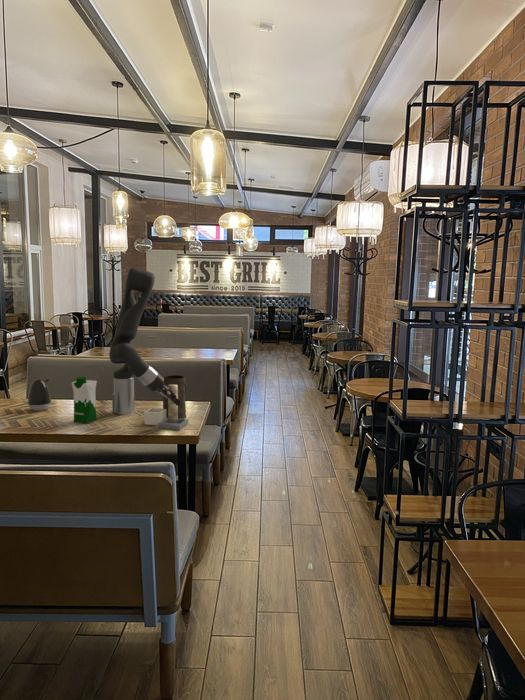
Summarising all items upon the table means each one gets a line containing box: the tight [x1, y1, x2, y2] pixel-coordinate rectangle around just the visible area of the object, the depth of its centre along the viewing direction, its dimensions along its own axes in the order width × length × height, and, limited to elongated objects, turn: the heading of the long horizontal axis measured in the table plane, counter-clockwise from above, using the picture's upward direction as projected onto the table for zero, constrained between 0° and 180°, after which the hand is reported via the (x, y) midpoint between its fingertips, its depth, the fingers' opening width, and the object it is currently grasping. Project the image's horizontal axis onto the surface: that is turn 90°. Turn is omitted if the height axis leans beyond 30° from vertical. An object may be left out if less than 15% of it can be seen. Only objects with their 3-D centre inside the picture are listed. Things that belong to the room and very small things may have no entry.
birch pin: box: [168, 384, 178, 423], centre depth 207 cm, size 4×4×16 cm
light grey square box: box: [143, 407, 166, 426], centre depth 213 cm, size 7×7×6 cm
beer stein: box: [162, 374, 187, 419], centre depth 223 cm, size 15×11×20 cm
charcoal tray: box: [157, 418, 189, 431], centre depth 209 cm, size 10×10×2 cm
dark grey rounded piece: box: [27, 378, 52, 412], centre depth 231 cm, size 10×10×15 cm
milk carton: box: [71, 376, 98, 424], centre depth 214 cm, size 9×9×20 cm
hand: (177, 402), depth 208 cm, fingers closed on birch pin, 4 cm apart
